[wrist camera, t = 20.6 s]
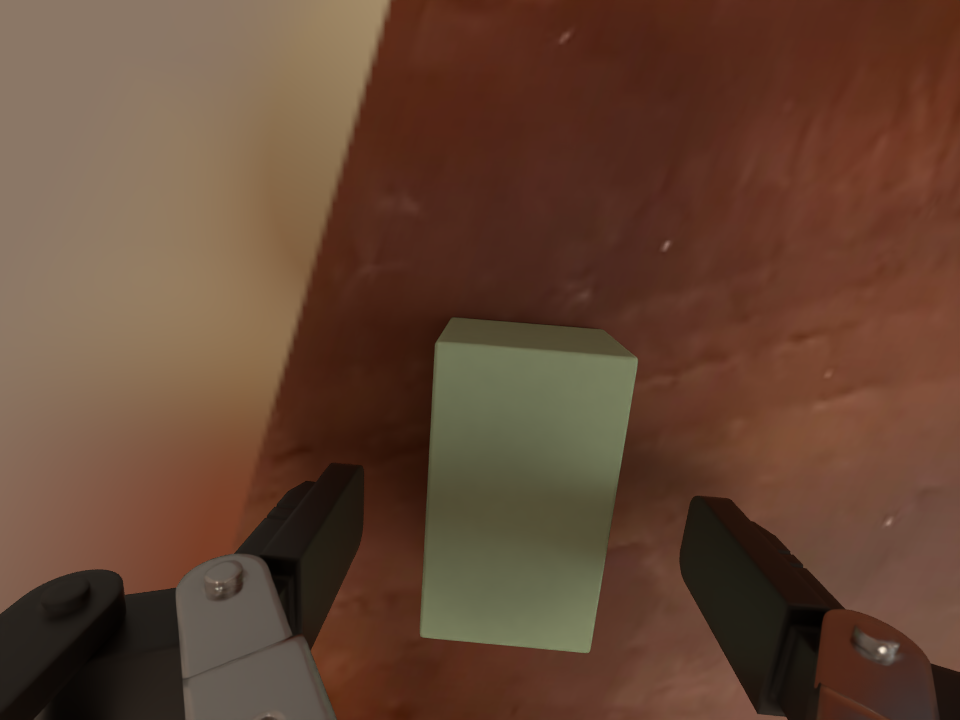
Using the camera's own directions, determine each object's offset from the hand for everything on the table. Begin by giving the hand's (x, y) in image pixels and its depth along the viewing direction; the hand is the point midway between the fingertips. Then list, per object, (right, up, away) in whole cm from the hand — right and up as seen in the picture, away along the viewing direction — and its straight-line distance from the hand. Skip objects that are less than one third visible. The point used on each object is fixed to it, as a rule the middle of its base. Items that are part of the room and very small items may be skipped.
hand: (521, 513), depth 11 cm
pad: (0, +1, +3) cm, 3 cm away
